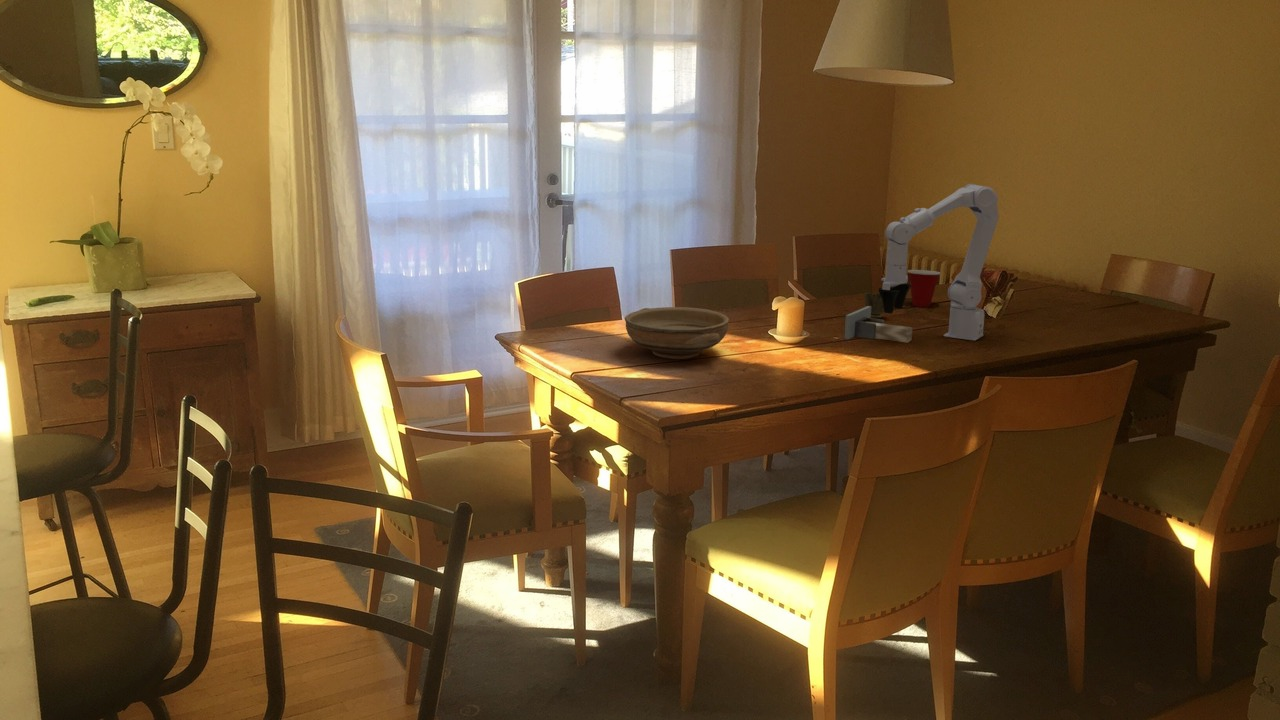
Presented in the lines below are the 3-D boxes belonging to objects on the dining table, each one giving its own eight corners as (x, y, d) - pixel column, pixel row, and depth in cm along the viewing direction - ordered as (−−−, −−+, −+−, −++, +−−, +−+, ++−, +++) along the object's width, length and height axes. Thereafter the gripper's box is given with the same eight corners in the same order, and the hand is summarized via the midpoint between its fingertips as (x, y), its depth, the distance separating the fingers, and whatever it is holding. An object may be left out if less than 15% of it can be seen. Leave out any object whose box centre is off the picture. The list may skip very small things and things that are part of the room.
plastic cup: (942, 304, 343) (945, 269, 340) (932, 310, 334) (935, 274, 331) (910, 301, 349) (913, 266, 346) (900, 306, 340) (903, 271, 337)
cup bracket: (883, 334, 301) (884, 319, 300) (873, 339, 295) (874, 324, 294) (864, 331, 304) (865, 317, 303) (854, 336, 299) (855, 321, 297)
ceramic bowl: (600, 344, 289) (599, 310, 287) (686, 333, 302) (686, 300, 300) (664, 375, 258) (664, 337, 255) (757, 362, 271) (758, 325, 268)
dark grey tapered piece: (885, 316, 325) (887, 291, 323) (888, 321, 318) (890, 296, 316) (861, 315, 326) (863, 291, 324) (864, 320, 319) (866, 295, 317)
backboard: (869, 329, 308) (871, 306, 306) (848, 339, 295) (849, 315, 293) (866, 328, 308) (867, 306, 307) (844, 338, 296) (845, 315, 294)
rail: (911, 340, 295) (912, 327, 294) (907, 343, 292) (908, 329, 291) (865, 334, 302) (866, 321, 301) (861, 337, 299) (861, 323, 298)
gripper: (892, 259, 298) (889, 304, 302) (873, 266, 287) (870, 313, 290) (915, 261, 294) (912, 307, 298) (897, 268, 283) (894, 316, 286)
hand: (893, 310), depth 294 cm, fingers open, 7 cm apart
